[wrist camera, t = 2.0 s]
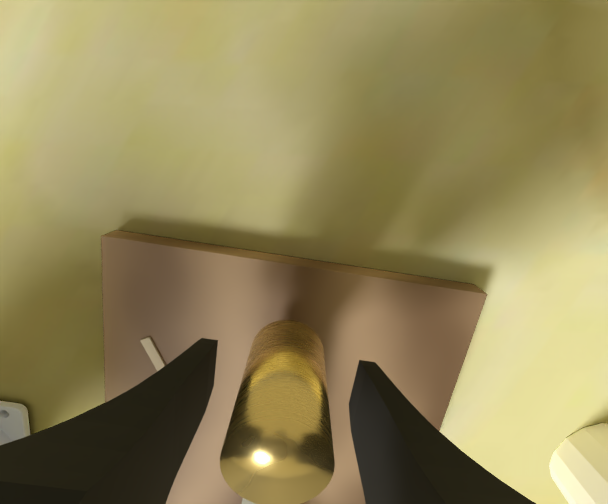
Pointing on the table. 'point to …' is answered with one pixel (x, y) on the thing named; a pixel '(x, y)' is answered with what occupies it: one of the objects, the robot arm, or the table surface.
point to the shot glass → (583, 466)
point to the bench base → (262, 311)
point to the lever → (280, 420)
